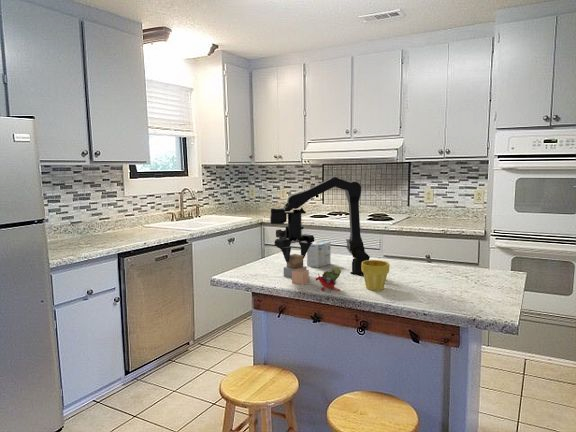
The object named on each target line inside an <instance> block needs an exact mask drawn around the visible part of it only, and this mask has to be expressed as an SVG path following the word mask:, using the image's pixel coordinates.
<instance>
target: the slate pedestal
mask: <svg viewBox="0 0 576 432" xmlns="http://www.w3.org/2000/svg"><path fill="white" fill-rule="evenodd" d="M297 269H298V268H297ZM299 269H307V265H306V266H305V265H303V267H301V268H299ZM293 270H295V269H293V268H288V267H287V266H283V277H287V278H291V279H292V271H293Z"/></svg>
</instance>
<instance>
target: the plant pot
mask: <svg viewBox="0 0 576 432" xmlns="http://www.w3.org/2000/svg"><path fill="white" fill-rule="evenodd" d="M361 269H362V272H363V274H364V275H363V277H364V282H365V288H366V289H367V290H370V291H382V290H384V289H385V284H386V281H387V277H388V276H387V275H388V274H389V273H390V262H388V261H386V260H385V261H384V260H379V259H369V260H366V261H363V262H362V265H361Z"/></svg>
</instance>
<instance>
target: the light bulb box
mask: <svg viewBox="0 0 576 432" xmlns="http://www.w3.org/2000/svg"><path fill="white" fill-rule="evenodd" d="M311 243H312V244H311V245H310V247H309V249H308V251H307V253H306V267H311V266H312V267H313V268H321V267H324V266H327V265H330V264H331V259H332V258H331V257H332V256H331V254H332V253H331V250H332V249H331V248H332V247H331V241H329V240H328V241H326V240H320V239H319V240H318V241H314V242H311Z"/></svg>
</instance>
